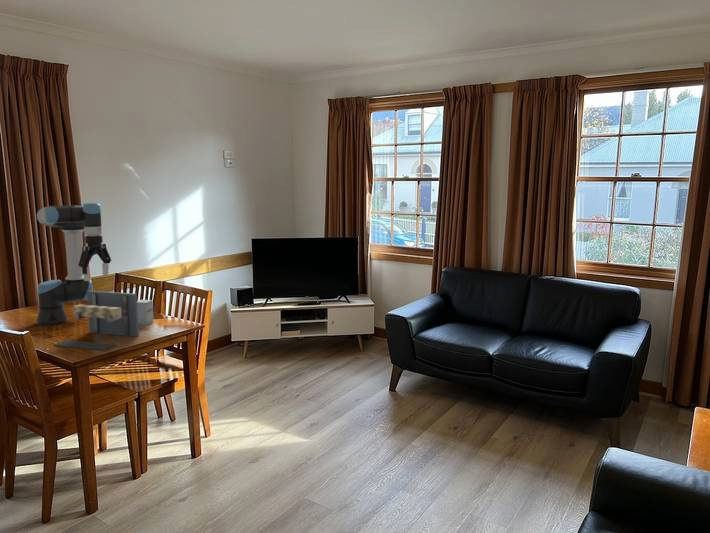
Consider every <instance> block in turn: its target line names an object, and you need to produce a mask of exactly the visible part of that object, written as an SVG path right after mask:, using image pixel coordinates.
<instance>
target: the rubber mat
mask: <svg viewBox="0 0 710 533" xmlns="http://www.w3.org/2000/svg"><path fill="white" fill-rule="evenodd" d="M53 346H54V347H61V348H73V349H83V350H94V351H103V352H105V351H108V350H110V349H112V348H115V347H116V346H117V344H113V343H103V342H93V341H84V340H83V341H80V340H72V339H71V340H70V339H65V340H63V341H62V340H61V341H60V342H57V343H55V344H53Z"/></svg>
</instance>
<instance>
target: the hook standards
mask: <svg viewBox="0 0 710 533" xmlns="http://www.w3.org/2000/svg"><path fill="white" fill-rule="evenodd" d="M92 305H95V306H98V299H97V294H92ZM123 313H124V314H122V317H121V318H123V317H124V331H125V335H124V337H126V338H127V337H131V336H130V324H129V307H128V296H123ZM74 318H75V320H82V319H85V318H86V317H82V316H80V313H75V316H74ZM121 318H119V319H121ZM93 320H94V333H93V334H96V335H99V334H101V333H100V329H99V318H94V317H93ZM115 320H118V319H112V315H107V322H113V321H115Z"/></svg>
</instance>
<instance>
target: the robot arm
mask: <svg viewBox="0 0 710 533" xmlns="http://www.w3.org/2000/svg"><path fill="white" fill-rule="evenodd" d="M101 211H102V209H101V204H100V203H97V202H96V203H95V202H93V203H90V202H89V203H87V202H86V203H83V204H82V205H74V204H73V205H72V204H71V205H48V206H44V207H41V208H40V209H38V211H37V212H36V219H37V222H38V223H39V224H41V225H43V226H46V227H50V228H61V229H60V230H61V232H63V233H64V239H65V250H66V251H65V254H66V255H65V256H66V267H67V275H66V277H65V278H64V280H65V281H62V280H61V279H52V280H46V281H43V282H40V283H39V284H37V291H36V293H37V302H38V313H37V318H36V325H37V324H38V325H37V326H40V325H43V326H42V327H47V326H46V325H52V326H57V325H62V324H66V323H68V321H69V320H68V315H66V310H65V309H64V303H72V302H73V303H74V302H82V301H83V302H84V301H88V298H87V291H93V282H92V279H90V278H91V276H90V266H89V264H90V262H91V260H92V258H93V256H95V255H97V257H99V258H100V260H101V261H102V262H103V263H101V267H102V277H109V273H110V272H109V268H110V267H109V264H110V263H111V262H112V259H111V258H112V257H111V256H110V253H109V252H108V249H107V245H106V243H103V235H102V234H103V231H102V214H101V213H102V212H101ZM83 232H84V235H85V237H84V238H83ZM83 239H84V240H85V244H87V246H84V240H83ZM88 266H89V267H88ZM65 322H66V323H65Z"/></svg>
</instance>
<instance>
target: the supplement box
mask: <svg viewBox="0 0 710 533" xmlns="http://www.w3.org/2000/svg"><path fill="white" fill-rule="evenodd" d="M137 311H138V325H142V326H146V325H149V324H151V323H153V322H154V320H155V318H154V302H153V300H152V299H140V300H137Z"/></svg>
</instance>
